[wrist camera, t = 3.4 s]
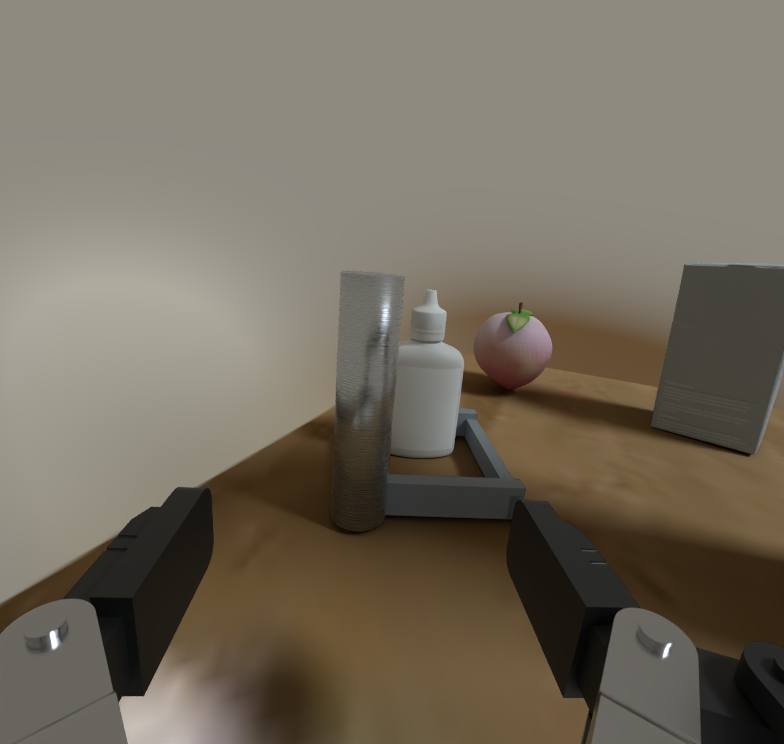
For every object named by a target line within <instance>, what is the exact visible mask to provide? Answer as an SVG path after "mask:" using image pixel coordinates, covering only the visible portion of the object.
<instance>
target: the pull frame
mask: <svg viewBox="0 0 784 744" xmlns="http://www.w3.org/2000/svg"><path fill="white" fill-rule="evenodd" d="M404 281H405V276H402V275H396V274H387V273H377V272H363V271H341V281H340V282H341V283H340V304H339V328H338V352H337V377H336V400H335V424H334V448H333V472H332V496H331V518H332V520H333V522H334V523H335V524H336V525H337V526H339V527H341V528H343V529H345V530H349V531H356V532H361V531H368V530H372V529H374V528H376V527H378V526H380V525H381V524H382V523H383V521H384V519H385V515H399V516H429V517H458V518H488V519H512V517H513V511H514V507H515V504H516V502H517V501H518V500H524V496H525V490H526V488H525V487H524V485H523V484H522V482H521V480H520V479H513V478H512V476H511V474H510V473H509V471H508V470H507V468H506V466H505V465H504V463H503V462H502V460H501V458H500V457H499V455H498V454H497V452H496V450H495V449H494V447H493V446H492V444H491V442H490V441H489V439H488V438H487V436H486V434H485V433H484V431H483V430H482V428H481V426H480V425H479V423H478V422H477V420H476V418H477V413H476V411H475V410H474V409H459V411H458V419H457V427H456V435H455V436H464V437H465V439H466V441H467V443H468V445H469V447H470V448H471V450H472V452H473V454H474V456H475V458H476V460H477V462H478V464H479V466H480V468H481V470H482V472H483V474H484V476H485V478H479V477H454V476H430V475H405V474H389V463H390V451H391V439H392V427H393V415H394V403H395V391H396V379H397V367H398V355H399V342H400V330H401V318H402V305H403V294H404Z"/></svg>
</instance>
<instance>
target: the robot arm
mask: <svg viewBox="0 0 784 744" xmlns="http://www.w3.org/2000/svg"><path fill="white" fill-rule="evenodd" d="M213 542H214V538H213V517H212V497H211V492H210V490H209V489H208V488H185V487H178V488H176V489H175V490H174V491H173V492H172V493H171V495H170V496H169V497H168V498H167V500H166V501H165V502H164V503H163V505H162V506H161V507H150V508H149V509H147V510H146V511H144V512H142V513H141V514H139V515H138V516H136V517H135V518H133V519H132V520H131V521H130V522H129V523H128V524H127V525H126V526H125V527H124V529H123V530H122V531H121V532H120V533H119V534H118V538H115V539H114V540H113V541H112V543H111V544H110V545H109V546H108V547H107V550H106V551H104V552H103V553H102V554H101V555H100V556H99V558H98V559H97V560H96V561H95V562H94V563H93V565H92V566H91V567H90V568H89V569H88V570H87V572H86V573H85V574H84V575H83V576H82V577H81V578H80V580H79V581H78V582H77V583H76V584H75V585H74V587H73V588H72V589H71V590H70V591H69V592H68V594H67V595H66V596H65V597H64V598H63V599H62V600H58V601H54V602H50V603H47V604H44V605H42V606H39V607H37V608H35V609H33V610H31V611H29V612H27V613H25V614H24V615H22V616H21V617H19V618H18V619H16V620H15V621H14V622H12V623H11V624H10V625H9V626H8V627H7V628H6V629H5V630H4V631H3V632H2V633H1V634H0V744H128V743H127V739H126V734H125V730H124V725H123V721H122V717H121V712H120V708H119V701H120V699H121V697H122V696H144V695H145V693H146V691H147V689H148V687H149V685H150V683H151V681H152V679H153V677H154V675H155V673H156V671H157V669H158V667H159V664H160V662H161V660H162V658H163V656H164V654H165V652H166V650H167V648H168V646H169V644H170V642H171V640H172V638H173V636H174V634H175V632H176V630H177V628H178V626H179V624H180V622H181V620H182V618H183V616H184V614H185V612H186V610H187V608H188V606H189V604H190V602H191V600H192V598H193V596H194V594H195V592H196V590H197V588H198V586H199V584H200V582H201V580H202V578H203V576H204V574H205V572H206V570H207V568H208V566H209V563H210V560H211V556H212V551H213ZM507 566H508V570H509V574H510V576H511V578H512V581H513V583H514V585H515V588H516V590H517V592H518V595H519V597H520V599H521V601H522V604H523V606H524V608H525V611H526V613H527V615H528V618H529V620H530V622H531V624H532V627H533V629H534V631H535V634H536V636H537V638H538V641H539V643H540V645H541V647H542V650H543V652H544V654H545V657H546V659H547V661H548V664H549V666H550V668H551V670H552V673H553V675H554V677H555V680H556V682H557V684H558V687H559V689H560V691H561V694H562V696H563V698H584V699H585V701H586V703H587V706H588V708H589V711H588V715H587V718H586V722H585V727H584V731H583V736H582V740H581V744H784V647H782V646H779V645H776V644H773V643H769V642H762V641H754V642H750V643H748V644H747V645H746V646H745V648H744V650H743V653H742V655H741V658H740V660H738V659H734V658H731V657H727V656H724V655H720V654H717V653H713V652H709V651H706V650H702V649H699V648H696V647H695V646H694V644H693V643H692V641H691V640H690V639H689V637H688V636H687V635H686V634H685V633H684V632H683V631H682V630H681V629H680V628H678V627H677V626H676V625H675V624H673V623H672V622H671V621H669V620H667V619H666V618H664V617H662V616H660V615H658V614H656V613H654V612H651V611H648V610H645V609H641V608H640V606H639V605H638V604H637V602H636V601H635V600H634V598H633V597H632V596H631V594H630V593H629V592H628V590H627V589H626V588H625V586H624V585H623V584H622V582H621V581H620V580H619V579H618V577H617V576H616V575H615V573H614V572H613V571H612V569H611V568H610V567H609V565H606V561H605V560H604V559H603V557H602V556H601V555H600V553H599V552H596V548H595V547H594V545H593V544H592V543H591V541H590V540H589V539H588V538H587V536H586V535H585V534H584V533H583V532H582V531H580V530H579V529H578V528H576V527H575V526H574V525H572V524H571V523H570V522H568V521H561V520H560V518H559V517H558V515H557V514H556V512H555V511H554V510H553V508H552V507H551V505H550V504H549V503H548V502H547V501H532V500H518V501H517V502H516V504H515V507H514V511H513V517H512V523H511V528H510V534H509V539H508V545H507Z"/></svg>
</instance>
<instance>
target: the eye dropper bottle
mask: <svg viewBox="0 0 784 744" xmlns="http://www.w3.org/2000/svg"><path fill="white" fill-rule="evenodd" d="M446 315H447V313H446V311H444V310H443V309H441V308H440V307H439V306H438V302H437V291H436V290H426V293H425V297H424V300H423V303H422V304H421V305H420V306H418V307H416V308H414V309H412V317H411V327H410V337H411V339H410V340H407V341H403V342H400V343H399V355H398V367H397V379H396V391H395V403H394V415H393V427H392V439H391V451H390V454H392V455H397V456H403V457H410V458H436V457H443V456H447V455H449V454H451V453H452V451H453V449H454V442H455V435H456V427H457V419H458V411H459V403H460V395H461V387H462V379H463V369H464V360H463V357H462V355H461V354H460V352H459V351H458V350H456V349H455V348H453V347H452V346H449V345H447V344H445V343H443V342H442V341H441V340H443V339H444V332H445V324H446Z"/></svg>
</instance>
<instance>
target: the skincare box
mask: <svg viewBox="0 0 784 744" xmlns="http://www.w3.org/2000/svg"><path fill="white" fill-rule="evenodd" d="M783 372H784V265H782V264H781V265H780V264H749V263H747V264H746V263H701V262H700V263H686V264H685V265H684V269H683V274H682V279H681V284H680V290H679V294H678V299H677V304H676V308H675V314H674V319H673V323H672V327H671V332H670V336H669V341H668V346H667V350H666V355H665V359H664V364H663V369H662V374H661V378H660V383H659V387H658V392H657V396H656V401H655V406H654V411H653V416H652V421H651V427H654V428H658V429H662V430H665V431H669V432H672V433H676V434H680V435H683V436H687V437H691V438H694V439H698V440H702V441H706V442H709V443H713V444H717V445H720V446H724V447H728V448H731V449H735V450H738V451H742V452H746V453H749V454H756V452H757V450H758V447H759V445H760V443H761V440H762V438H763V435H764V433H765V430H766V427H767V424H768V421H769V417H770V414H771V411H772V408H773V404H774V401H775V398H776V395H777V392H778V388H779V385H780V382H781V378H782V375H783Z"/></svg>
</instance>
